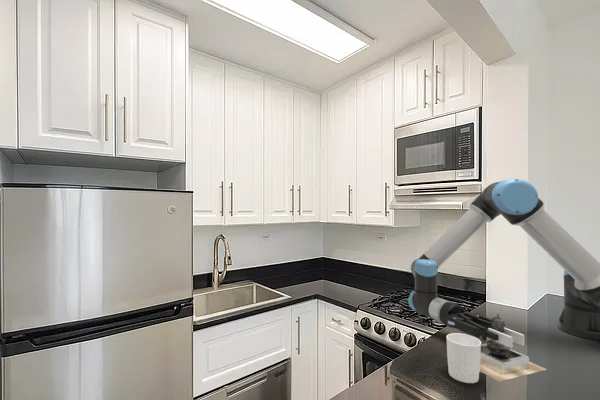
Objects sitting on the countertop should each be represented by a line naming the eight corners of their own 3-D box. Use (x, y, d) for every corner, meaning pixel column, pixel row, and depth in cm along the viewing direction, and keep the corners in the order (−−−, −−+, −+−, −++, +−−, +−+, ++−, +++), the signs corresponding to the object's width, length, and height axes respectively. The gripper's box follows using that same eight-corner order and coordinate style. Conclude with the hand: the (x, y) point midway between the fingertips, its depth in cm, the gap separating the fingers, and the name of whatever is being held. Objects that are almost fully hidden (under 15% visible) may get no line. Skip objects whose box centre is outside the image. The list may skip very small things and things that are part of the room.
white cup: (450, 367, 85) (450, 330, 86) (483, 378, 80) (484, 338, 81) (442, 379, 79) (442, 339, 80) (477, 391, 74) (478, 349, 75)
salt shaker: (514, 363, 84) (514, 318, 84) (490, 361, 85) (490, 316, 85) (504, 354, 89) (505, 311, 90) (482, 351, 91) (482, 309, 91)
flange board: (497, 349, 97) (497, 347, 97) (546, 372, 84) (546, 369, 84) (452, 358, 90) (452, 356, 90) (498, 384, 77) (498, 381, 77)
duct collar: (494, 352, 93) (494, 341, 94) (528, 368, 84) (528, 357, 84) (469, 357, 90) (469, 346, 90) (502, 374, 81) (502, 362, 81)
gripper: (465, 321, 107) (539, 351, 85) (426, 327, 101) (494, 360, 79) (466, 299, 107) (539, 323, 85) (426, 303, 101) (494, 330, 79)
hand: (517, 341), depth 82 cm, fingers open, 4 cm apart
